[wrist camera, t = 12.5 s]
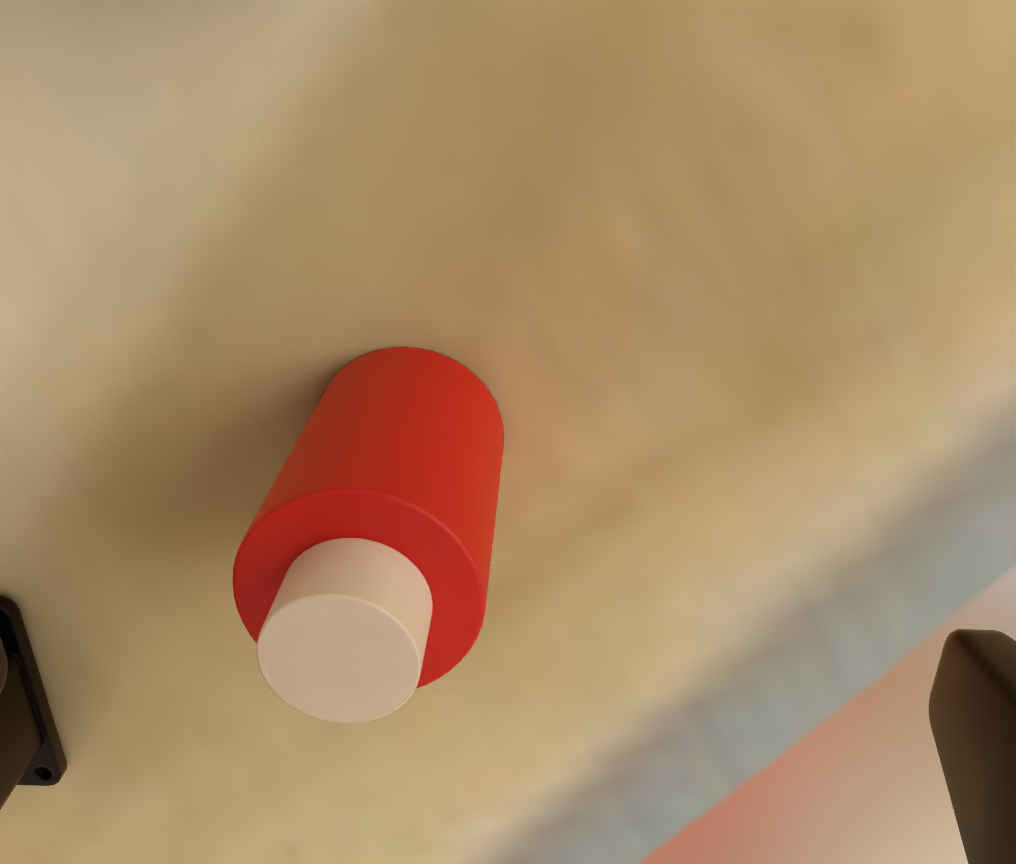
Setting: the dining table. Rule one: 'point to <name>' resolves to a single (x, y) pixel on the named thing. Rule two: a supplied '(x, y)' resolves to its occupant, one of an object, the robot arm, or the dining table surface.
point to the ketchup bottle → (375, 538)
